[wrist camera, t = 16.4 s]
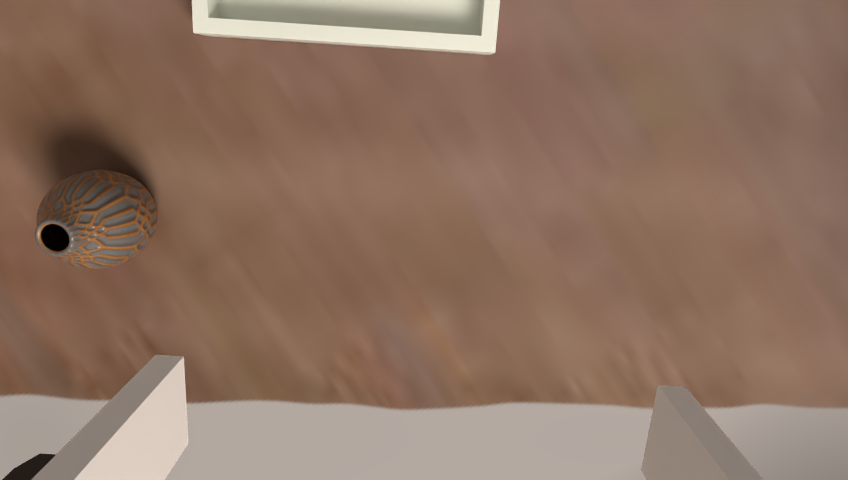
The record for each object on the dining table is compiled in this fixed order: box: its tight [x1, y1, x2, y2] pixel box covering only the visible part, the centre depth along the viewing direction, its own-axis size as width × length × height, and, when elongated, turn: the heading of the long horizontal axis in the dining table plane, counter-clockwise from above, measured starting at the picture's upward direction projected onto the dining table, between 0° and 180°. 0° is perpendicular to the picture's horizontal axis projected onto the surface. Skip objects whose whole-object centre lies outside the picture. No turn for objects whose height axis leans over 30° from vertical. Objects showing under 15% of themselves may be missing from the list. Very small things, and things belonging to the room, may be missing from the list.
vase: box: [35, 170, 157, 269], centre depth 39 cm, size 7×7×9 cm
